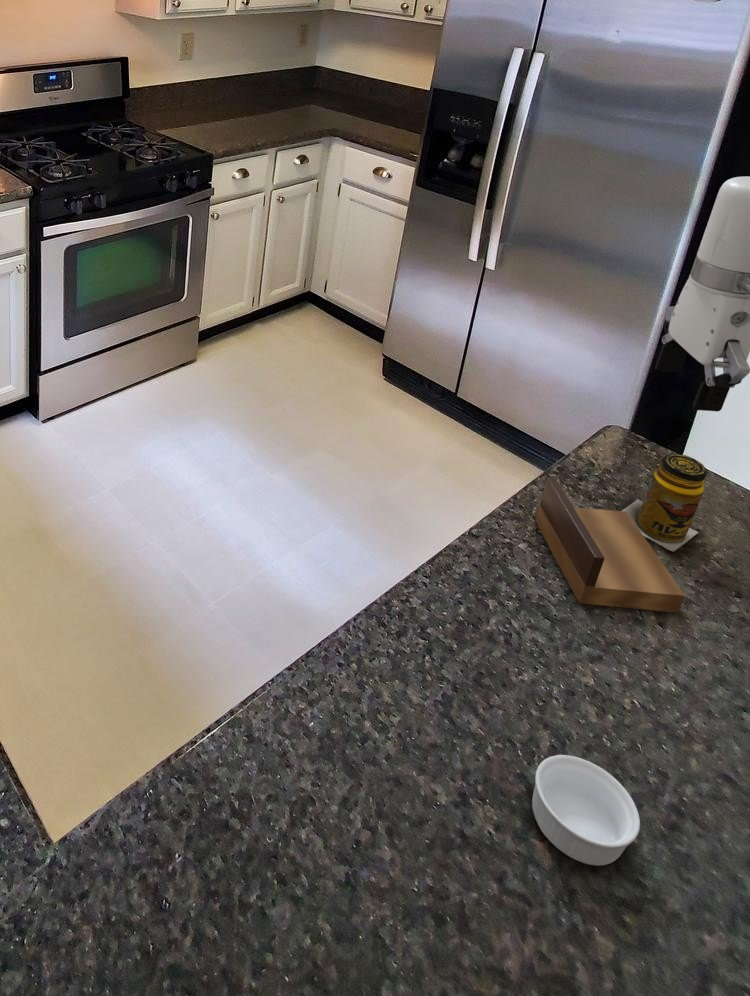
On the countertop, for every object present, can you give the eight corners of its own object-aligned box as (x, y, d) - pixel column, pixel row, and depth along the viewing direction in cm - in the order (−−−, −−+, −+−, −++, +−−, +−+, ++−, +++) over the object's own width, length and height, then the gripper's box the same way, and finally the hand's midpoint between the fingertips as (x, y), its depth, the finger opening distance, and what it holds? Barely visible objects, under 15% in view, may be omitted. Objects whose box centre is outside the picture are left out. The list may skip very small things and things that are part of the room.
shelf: (620, 527, 117) (636, 484, 114) (678, 612, 103) (697, 566, 100) (534, 520, 119) (547, 477, 115) (579, 603, 105) (595, 557, 101)
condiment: (672, 552, 113) (699, 485, 107) (611, 517, 119) (634, 452, 114) (698, 533, 116) (725, 467, 111) (637, 500, 123) (660, 436, 117)
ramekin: (616, 797, 82) (628, 770, 80) (638, 888, 74) (651, 860, 72) (520, 769, 84) (530, 742, 83) (532, 853, 77) (542, 826, 75)
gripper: (806, 306, 93) (755, 428, 100) (721, 250, 108) (681, 359, 115) (736, 303, 94) (690, 424, 101) (661, 248, 109) (626, 356, 116)
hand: (685, 389), depth 108 cm, fingers open, 9 cm apart
